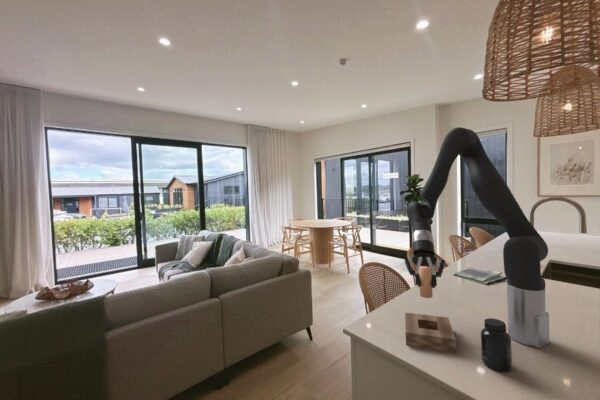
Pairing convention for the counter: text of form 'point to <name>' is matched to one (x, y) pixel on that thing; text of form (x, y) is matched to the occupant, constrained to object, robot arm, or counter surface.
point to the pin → (425, 281)
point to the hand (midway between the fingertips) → (426, 286)
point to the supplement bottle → (496, 345)
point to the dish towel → (480, 275)
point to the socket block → (429, 332)
